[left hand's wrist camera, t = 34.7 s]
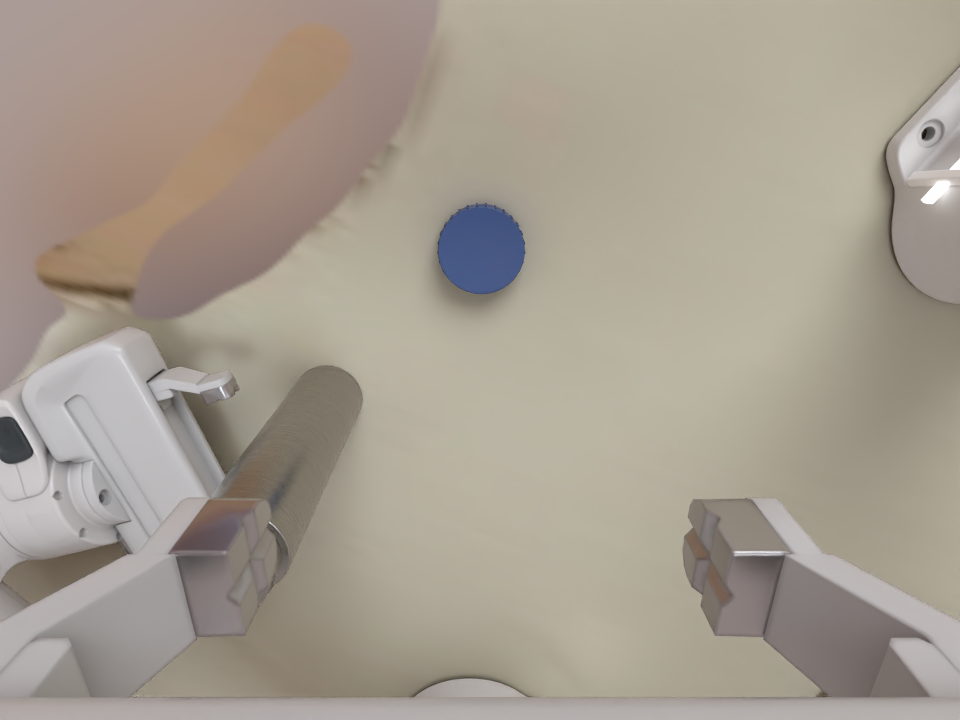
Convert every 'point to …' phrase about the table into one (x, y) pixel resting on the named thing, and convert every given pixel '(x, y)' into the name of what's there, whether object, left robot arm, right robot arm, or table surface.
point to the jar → (296, 457)
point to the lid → (481, 249)
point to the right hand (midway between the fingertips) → (261, 441)
